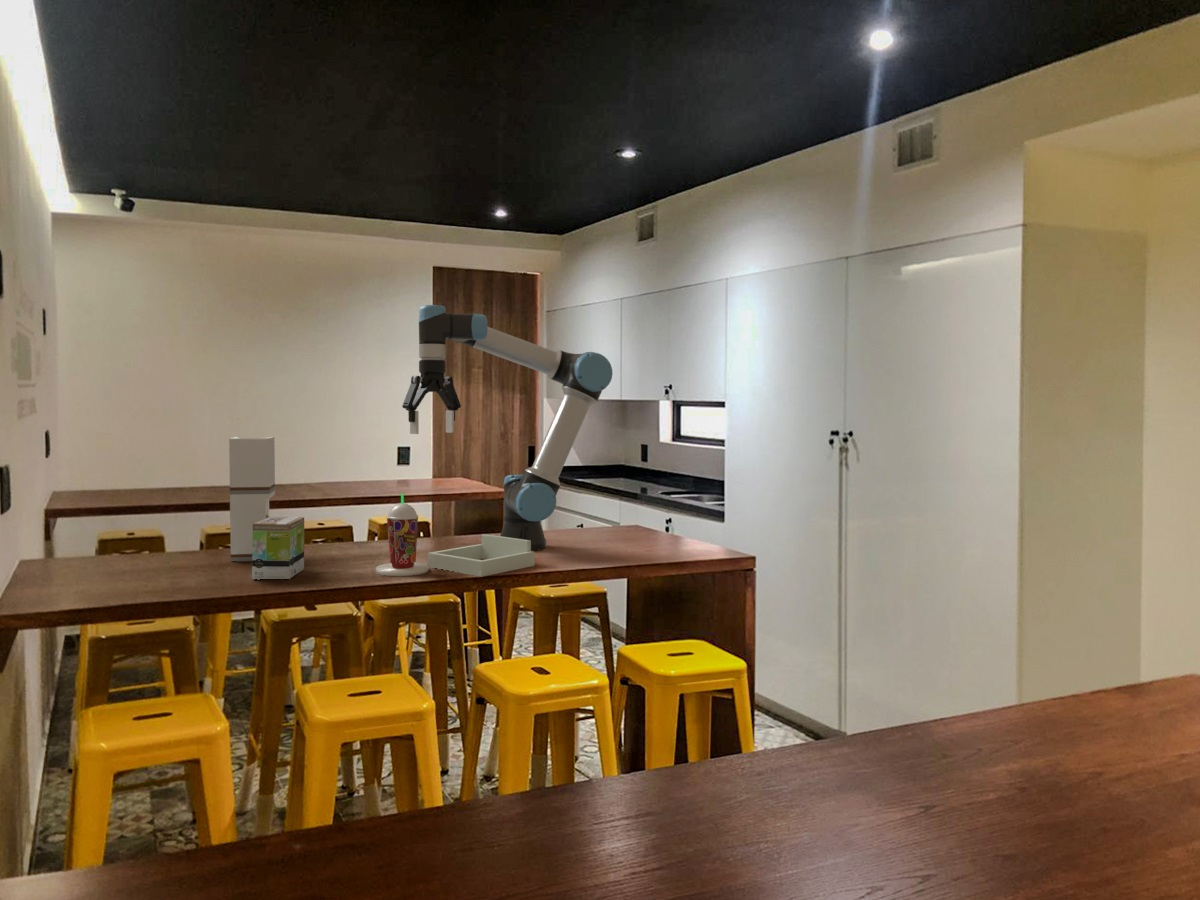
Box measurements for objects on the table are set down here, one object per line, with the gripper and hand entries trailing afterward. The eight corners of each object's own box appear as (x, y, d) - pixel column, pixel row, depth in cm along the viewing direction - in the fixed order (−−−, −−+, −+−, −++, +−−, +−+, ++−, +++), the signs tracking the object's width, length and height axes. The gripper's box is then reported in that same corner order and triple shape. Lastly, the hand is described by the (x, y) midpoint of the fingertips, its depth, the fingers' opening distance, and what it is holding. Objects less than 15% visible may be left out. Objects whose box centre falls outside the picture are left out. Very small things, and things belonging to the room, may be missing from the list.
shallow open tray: (481, 557, 274) (481, 533, 273) (534, 565, 261) (534, 541, 260) (427, 567, 257) (427, 542, 257) (481, 576, 244) (481, 550, 244)
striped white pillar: (270, 560, 265) (268, 438, 263) (230, 561, 263) (229, 438, 261) (275, 553, 276) (274, 436, 274) (237, 554, 274) (236, 436, 272)
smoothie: (411, 570, 246) (410, 495, 245) (382, 569, 247) (381, 494, 246) (423, 564, 254) (422, 492, 253) (394, 563, 256) (394, 491, 254)
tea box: (291, 580, 237) (290, 523, 237) (251, 580, 237) (250, 523, 236) (305, 569, 252) (304, 515, 252) (267, 569, 252) (266, 515, 251)
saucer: (405, 564, 260) (405, 560, 260) (439, 570, 252) (439, 566, 252) (365, 571, 249) (365, 567, 249) (399, 578, 241) (399, 573, 241)
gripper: (455, 361, 279) (455, 431, 280) (389, 358, 259) (389, 433, 260) (472, 360, 274) (472, 432, 275) (407, 357, 254) (407, 434, 255)
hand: (432, 433), depth 268 cm, fingers open, 13 cm apart
